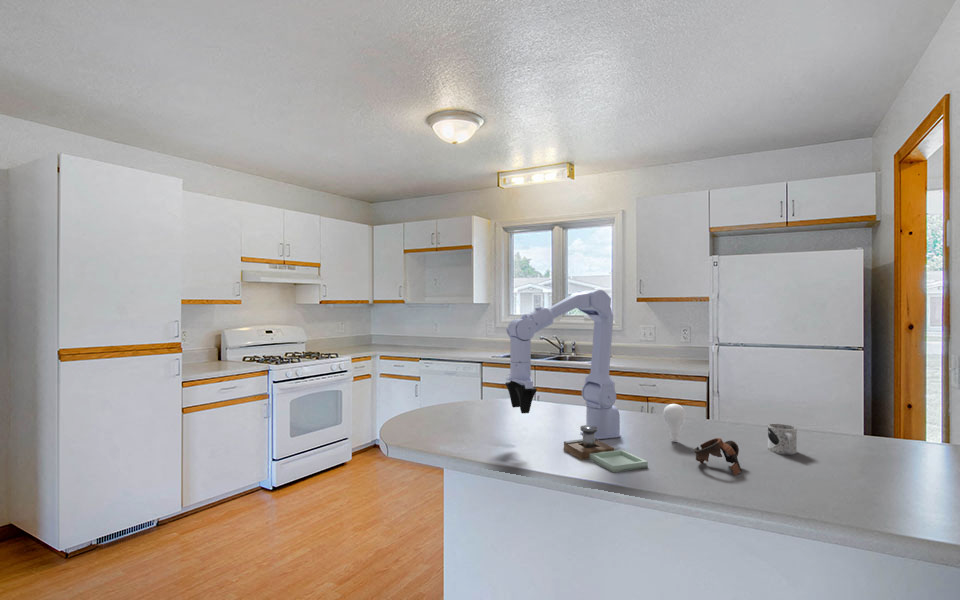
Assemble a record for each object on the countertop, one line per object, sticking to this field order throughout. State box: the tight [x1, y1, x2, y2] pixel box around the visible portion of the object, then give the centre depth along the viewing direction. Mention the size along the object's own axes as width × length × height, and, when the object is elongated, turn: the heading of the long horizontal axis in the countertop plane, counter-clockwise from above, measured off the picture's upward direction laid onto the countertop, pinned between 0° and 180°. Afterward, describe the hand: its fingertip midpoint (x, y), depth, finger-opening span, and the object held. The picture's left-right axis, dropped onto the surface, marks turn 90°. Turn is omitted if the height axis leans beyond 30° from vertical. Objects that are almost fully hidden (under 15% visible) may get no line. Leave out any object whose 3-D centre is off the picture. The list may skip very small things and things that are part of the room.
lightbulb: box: [663, 403, 687, 443], centre depth 141 cm, size 6×6×11 cm
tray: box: [589, 449, 649, 473], centre depth 122 cm, size 10×10×2 cm
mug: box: [767, 423, 798, 456], centre depth 131 cm, size 10×7×7 cm, turn 168°
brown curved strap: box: [693, 437, 742, 476], centre depth 120 cm, size 12×10×8 cm
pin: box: [579, 424, 597, 448], centre depth 131 cm, size 4×4×7 cm
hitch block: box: [563, 438, 616, 461], centre depth 131 cm, size 10×9×2 cm
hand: (520, 410), depth 137 cm, fingers open, 7 cm apart
